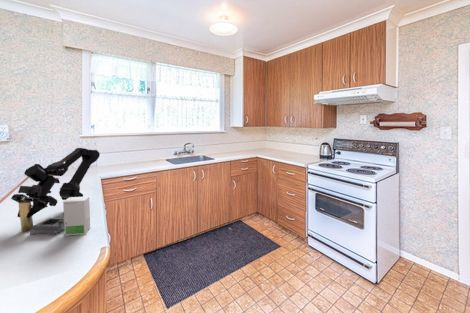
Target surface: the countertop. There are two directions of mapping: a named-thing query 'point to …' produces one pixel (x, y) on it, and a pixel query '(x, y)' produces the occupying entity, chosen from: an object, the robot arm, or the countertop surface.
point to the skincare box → (76, 215)
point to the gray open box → (48, 227)
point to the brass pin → (25, 222)
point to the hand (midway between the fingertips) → (22, 217)
